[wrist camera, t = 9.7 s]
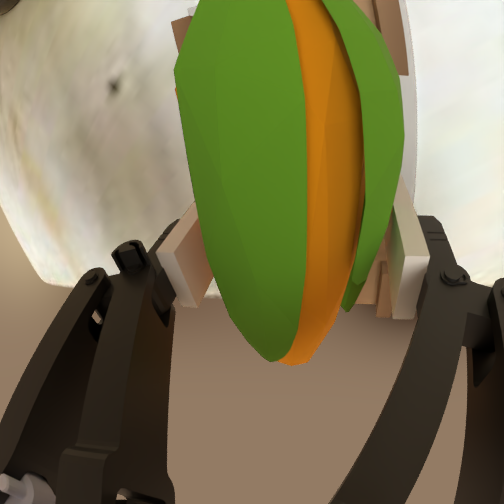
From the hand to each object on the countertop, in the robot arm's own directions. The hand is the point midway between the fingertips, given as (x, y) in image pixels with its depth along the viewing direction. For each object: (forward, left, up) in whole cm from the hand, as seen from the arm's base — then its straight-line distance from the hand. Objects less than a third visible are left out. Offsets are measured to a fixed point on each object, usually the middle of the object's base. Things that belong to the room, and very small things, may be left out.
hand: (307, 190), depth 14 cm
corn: (0, 0, 0) cm, 0 cm away
